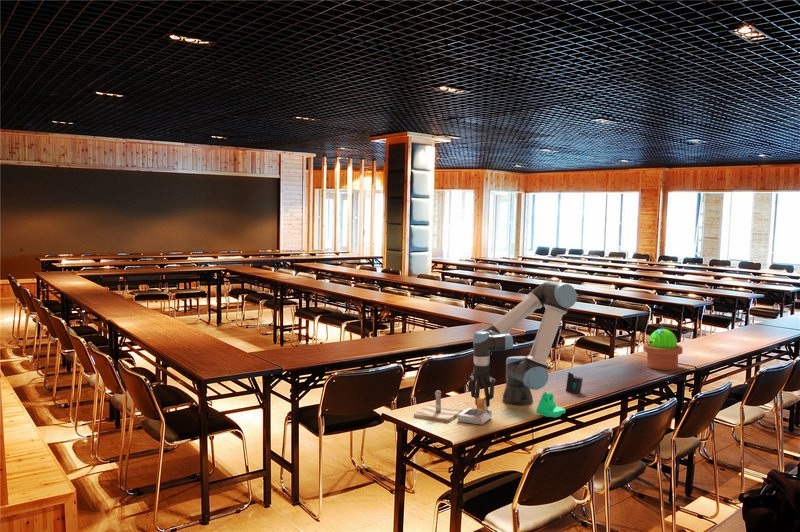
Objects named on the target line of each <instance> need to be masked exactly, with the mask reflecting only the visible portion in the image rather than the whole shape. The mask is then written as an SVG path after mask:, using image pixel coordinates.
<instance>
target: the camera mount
mask: <svg viewBox="0 0 800 532" xmlns="http://www.w3.org/2000/svg"><path fill="white" fill-rule="evenodd" d="M554 398H555V396H554V394H553V393H550V392H548V391H545V392H543V393H542V395H541V397H540V400H539V403H538V405H537V408H536V414H537V415H541V416H544V417H545V418H550V417H551V418H553V419H555V418H558V417H561V416H562V414H566V409H565V408H564V407H563V408H562V407H560V406H558V405H556V403H555V401H554V400H555V399H554Z"/></svg>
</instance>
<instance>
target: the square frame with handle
mask: <svg viewBox="0 0 800 532" xmlns="http://www.w3.org/2000/svg"><path fill="white" fill-rule="evenodd" d="M485 399H486V398H485V394H481V395H479V397H478V398H477V405H476V408H475V407H474V408H473V407H467V408H465V409H463V411H462V412H461V413H459V414H458V417H457V422H461V423H468V424H473V425H474V424H475V425H481V426H483V425H484V424H485V423H486V422H488V421H489V420H490V419H491V418H492V417H493V415H492V414H493V413H492V412H493V411H492V410H489V409H488V410H484V400H485Z"/></svg>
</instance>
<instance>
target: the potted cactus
mask: <svg viewBox="0 0 800 532" xmlns="http://www.w3.org/2000/svg"><path fill="white" fill-rule="evenodd" d="M642 350H643V352H645V353H646V354H647V355H646V365H647V367H648V368H650V369H654V370H658V371H659V370H660V371H674V370H677V369H678V368H679V355H682V354H683V346H682V345H680V344H678V339H677V337H676V335H675V334H674V333H673V331H671V330H670V329H667V328H657V329H656V330H654V331H653V332H652V333H651V334H650V336H649V338H648V342H646V343H645V342H644V343H643V346H642Z"/></svg>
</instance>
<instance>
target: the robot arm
mask: <svg viewBox="0 0 800 532" xmlns="http://www.w3.org/2000/svg"><path fill="white" fill-rule="evenodd" d="M577 297H578V295H577V290H576V289H575V288H574V286H572V285H571V284H569V283H566V282H560V281H559V282H558V281H553V280H550V281H546V282H543V283H541V284H540V285H538V286H537V287H535V288H534V289H533V290H532V291H530V292H529V293H528V294H527V297H526V298H524V299H523V300H522V301H520V302H519V303H518V304H517V305H515V307H513V308H512V309H511V310H509V311H508V312H507V313H505V314H504V315H503V316H502V317H501V318H499V319H498V320H497V321H495V322H494V323H493V324H492V325H490V327H488V328H481V330H479V331H475V332H474V333H473V337H472V338H473V339H472V345H473V374H472V375H470V376H468V377H467V379H468V380H469V387H470V395H471V398H474V401H475V402H474V404H475V406H477V398H478V397H479V396H480V391H481V385H482V386H483V390H484V395H485V398H486V399H485V400H484V410H489V407H490V405H491V404H490V403H491V402H490V400H493V399H494V397H495V394H494V393H495V382H496V381H497V378H496V377H495V378H494V377H492V376H491V371H490V370H491V369H490V368H491V366H490V361H491V360H490V352H495V351H507V350H510V349H512V348H513V346H514V338H513V336H512V335H511V334H510V333H508V332H510V331H511V330H512V329H513V328H514V327H516V326H517V325H519V324H520V323H521V322H522V321H523V320H524V319H526V318H528V317H529V316H530V315H531V314H533V313H534V312H535V311H536V310H537V309H541V308H543V307H544V313H543V314H542V315H543V316H542V319H541V322H540V325H539V327H538V330H537V332H536V336H535V338H534V341H533V343H532V347H531V349H530V352H529V354H528V355H526V356H525V355H519V356H518V355H517V356H516V355H515V356H508V357H507V358H506V359H505V389H504V392H503V394H502V402H503V401H504V402H503V403H506V404H507V403H508V404H507V405H514V406H528V405H530V404H532V403H533V401H534V399H533V394H532V391H531V390H536V391H537V390H540V389H542V388H544V387H545V386H546V384H547V383H548V381H549V373H548V367H549V364H548V362H547V360H548V357H549V355H550V352H551V349H552V346H553V343H554V342H555V341H554V340H555V337H556V336H557V332H558V330H559V327H560V324H561V321H562V318H563V317H564V315H566V314H567V313H568V310H569V308H572V307H573V306H575V304H576V302H577V300H578V299H577ZM475 381H476V382H475ZM489 382H490V384H489Z"/></svg>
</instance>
